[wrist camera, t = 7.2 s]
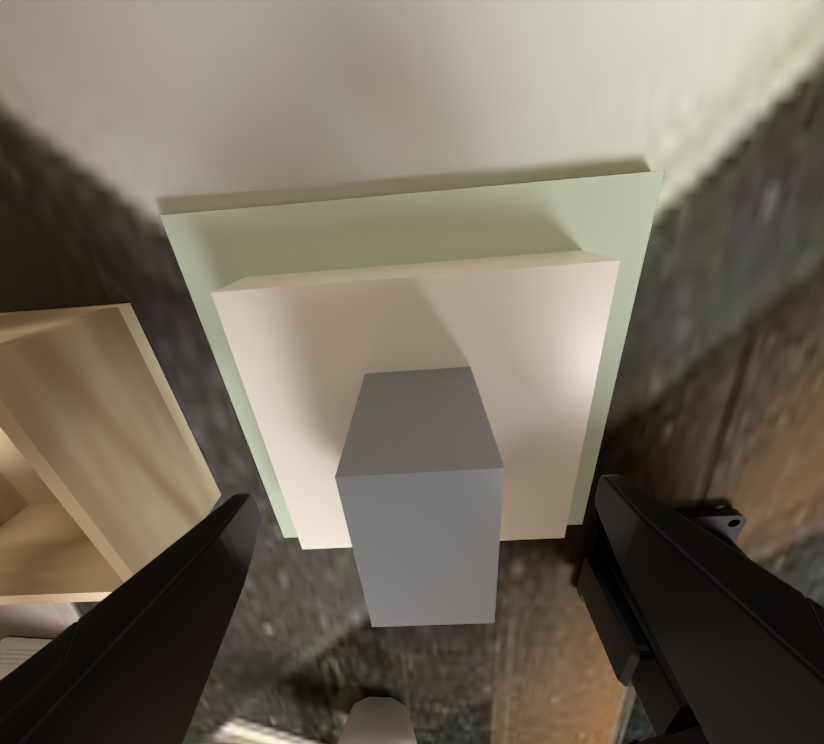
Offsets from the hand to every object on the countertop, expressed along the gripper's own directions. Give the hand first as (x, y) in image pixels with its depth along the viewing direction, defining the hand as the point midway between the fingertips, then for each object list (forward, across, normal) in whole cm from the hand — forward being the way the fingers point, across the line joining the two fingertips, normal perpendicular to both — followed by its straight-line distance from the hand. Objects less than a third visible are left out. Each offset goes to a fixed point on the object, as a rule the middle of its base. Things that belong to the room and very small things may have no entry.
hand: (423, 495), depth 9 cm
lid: (+4, 0, 0) cm, 4 cm away
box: (+5, +14, 0) cm, 15 cm away
